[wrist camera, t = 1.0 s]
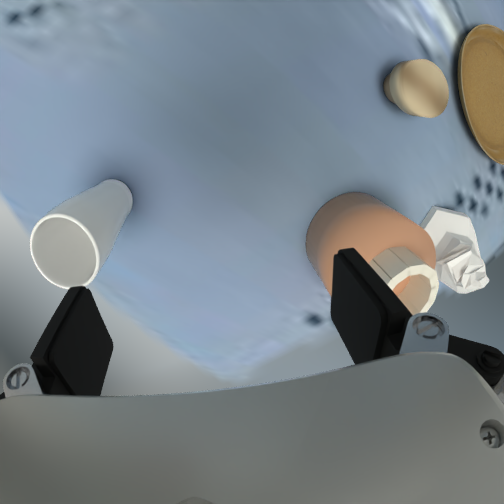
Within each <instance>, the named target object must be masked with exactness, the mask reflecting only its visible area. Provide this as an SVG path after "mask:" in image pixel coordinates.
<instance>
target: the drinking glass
mask: <svg viewBox="0 0 504 504" xmlns="http://www.w3.org/2000/svg"><path fill="white" fill-rule="evenodd" d="M132 205H133V198H132V194H131V191H130V190H129V188H128V187H127V186H126V185H125V184H124V183H123V182H121V181H119V180H115V179H108V180H104V181H102V182H101V183H99V184H98V185H96V186H94V187H92V188H90V189H87V190H85V191H83V192H81V193H79V194H77V195H75V196H73V197H71V198H69V199H67V200H65V201H63V202H62V203H60V204H59V205H57V206H56V207H54V208H53V209H52V210H50V211H49V212H48V213H47V214H46V215H45V216H44V217H43V218H42V219H40V220H39V221H38V222H37V224H36V225H35V227H34V228H33V231H32V234H31V238H30V250H31V254H32V258H33V261H34V263H35V265H36V267H37V268H38V270H39V271H40V273H41V274H42V275H43V276H44V277H45V278H46V279H47V280H48V281H50V282H51V283H52V284H54V285H56V286H58V287H61V288H64V289H69V288H70V287H75V286H87V285H88V284H90V283H91V282H92V281H93V280H94V278H95V277H96V275H97V274H98V272H99V271H100V270H101V268H102V267H103V265H104V263H105V262H106V260H107V258H108V257H109V255H110V253H111V251H112V249H113V247H114V244H115V242H116V240H117V237H118V235H119V233H120V230H121V228H122V226H123V224H124V222H125V220H126V218H127V216H128V215H129V213H130V211H131V209H132Z"/></svg>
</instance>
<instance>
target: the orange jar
mask: <svg viewBox="0 0 504 504" xmlns="http://www.w3.org/2000/svg"><path fill="white" fill-rule="evenodd" d="M346 248H355V249H356V250H357V252H358V253H359V254H360V255H361V256H362V257H363V258H364V259H365V260H366V261H367V263H368V264H369V265H370V266H371V267H372V268H373V269H374V270H375V272H376V273H377V274H378V275H379V276H380V277H381V278H382V279H383V280H384V282H385V283H386V284H387V285H388V286H389V287H390V289H391V290H392V291H393V292H394V293H395V294H396V296H397V297H398V298H399V299H400V300H401V301H402V303H403V304H404V305H405V306H406V307H407V309H408V310H409V311H410V312H411V313H412V315H415V314H418V313H424V312H427V311H428V309H429V308H430V307H431V305H432V304H433V303H434V302H433V301H435V298H436V294H437V291H438V288H439V282H438V277H437V272H436V271H435V266H436V251H435V246H434V243H433V241H432V239H431V237H430V235H429V234H428V233H427V232H426V231H425V230H424V229H423V228H422V227H420V226H419V225H417V224H416V223H414V222H413V221H411V220H410V219H408V218H407V217H405V216H403V215H402V214H400V213H399V212H397V211H396V210H394V209H393V208H391V207H389V206H388V205H386V204H385V203H383V202H381V201H380V200H378V199H376V198H375V197H373V196H371V195H369V194H366V193H361V192H350V193H345V194H342V195H339V196H337V197H335V198H333V199H331V200H330V201H328V202H327V203H326V204H325V205H324V206H322V207H321V208H320V210H319V211H318V212H317V213H316V215H315V216H314V218H313V219H312V221H311V223H310V225H309V228H308V231H307V236H306V252H307V256H308V259H309V261H310V263H311V265H312V266H313V268H314V269H315V271H316V273H317V274H318V276H319V277H320V279H321V281H322V282H323V284H324V286H325V287H326V289H327V291H328V292H329V294H330V295H331V296H332V278H333V257H334V254H338V250H340V249H346Z"/></svg>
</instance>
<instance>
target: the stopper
mask: <svg viewBox="0 0 504 504" xmlns="http://www.w3.org/2000/svg"><path fill="white" fill-rule="evenodd" d="M384 92H385V94H386V96H387V98H388V99H389V100H390V101H391V102H393V103H394V104H396V105H397V106H398V107H399V108H400V109H401V110H402V111H403V112H405V113H407V114H409V115H412V116H420V117H428V118H433V117H437V116H439V115H440V114H441V113H442V112H443V111H444V110H445V108H446V106H447V103H448V98H449V90H448V85H447V81H446V79H445V76H444V75H443V73H442V71H441V70H440V69H439V68H438V67H437V66H436V65H435V64H434V63H432V62H431V61H428V60H425V59H418V60H410V61H403V62H400V63H399V64H397V65H396V66H395V67H394V68H393V70H392V72H391V73H390V74H389V75H387V77H386V78H385V80H384Z"/></svg>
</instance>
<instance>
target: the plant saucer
mask: <svg viewBox="0 0 504 504" xmlns="http://www.w3.org/2000/svg"><path fill="white" fill-rule="evenodd" d="M458 88H459V94H460V99H461V104H462V108H463V111H464V115H465V118H466V120H467V123H468V125H469V128H470V130H471V132H472V134H473V136H474V138H475V139H476V141H477V143H478V144H479V146H480V147H481V148H482V149H483V151H484V152H485V153H486V154H487V155H488V156H489V157H490V158H491V159H492V160H494V161H495V162H497V163H499V164H502V165H504V31H502V30H501V29H499V28H497V27H495V26H493V25H489V24H481V25H478V26H476V27H475V28H473V29H472V30H471V31H470V32H469V33H468V35H467V36H466V38H465V39H464V41H463V44H462V47H461V50H460V54H459V60H458Z"/></svg>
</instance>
